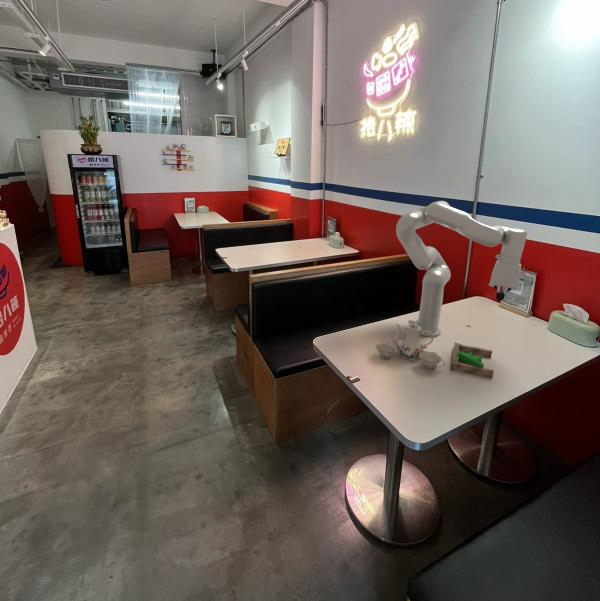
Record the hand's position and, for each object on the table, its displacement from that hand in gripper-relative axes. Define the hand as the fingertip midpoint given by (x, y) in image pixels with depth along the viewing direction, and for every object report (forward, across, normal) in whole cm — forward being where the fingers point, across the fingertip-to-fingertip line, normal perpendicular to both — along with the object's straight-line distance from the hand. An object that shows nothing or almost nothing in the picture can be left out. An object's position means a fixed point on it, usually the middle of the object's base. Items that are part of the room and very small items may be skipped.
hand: (499, 300), depth 157 cm
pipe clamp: (+22, -5, -22) cm, 31 cm away
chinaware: (+24, -29, -28) cm, 47 cm away
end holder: (+23, -6, -18) cm, 30 cm away
